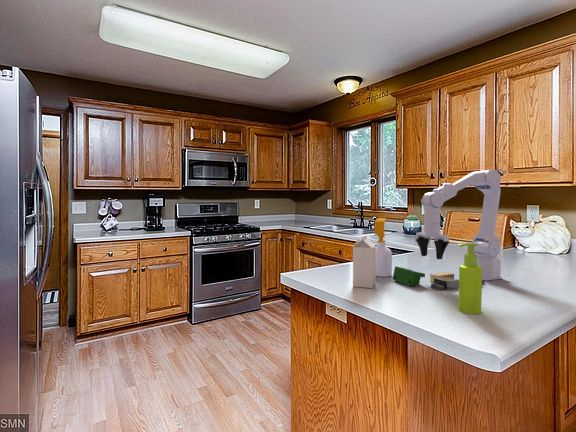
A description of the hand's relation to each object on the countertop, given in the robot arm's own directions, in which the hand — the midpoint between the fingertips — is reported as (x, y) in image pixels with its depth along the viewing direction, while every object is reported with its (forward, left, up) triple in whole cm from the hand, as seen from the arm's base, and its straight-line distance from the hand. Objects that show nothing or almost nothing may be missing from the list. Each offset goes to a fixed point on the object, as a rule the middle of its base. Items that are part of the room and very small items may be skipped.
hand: (431, 257), depth 132 cm
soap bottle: (+10, -18, -10) cm, 23 cm away
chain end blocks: (-5, +8, -10) cm, 13 cm away
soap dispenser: (+16, +30, -10) cm, 36 cm away
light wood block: (-5, +1, -10) cm, 11 cm away
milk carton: (+27, -6, -10) cm, 30 cm away
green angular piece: (+9, -2, -10) cm, 14 cm away
